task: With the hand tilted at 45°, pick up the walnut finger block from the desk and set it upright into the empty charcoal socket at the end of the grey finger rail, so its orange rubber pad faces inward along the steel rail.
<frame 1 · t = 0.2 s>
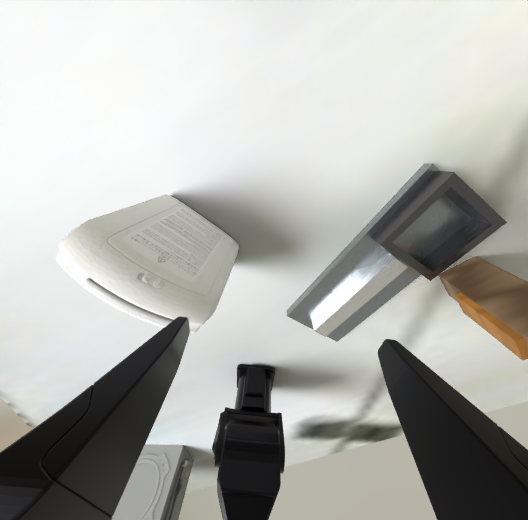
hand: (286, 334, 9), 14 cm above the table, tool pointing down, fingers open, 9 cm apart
finger rail: (419, 224, 21), on the table
walnut finger: (461, 276, 23), on the table
photo printer: (199, 230, 22), on the table
portable television: (153, 452, 54), on the table
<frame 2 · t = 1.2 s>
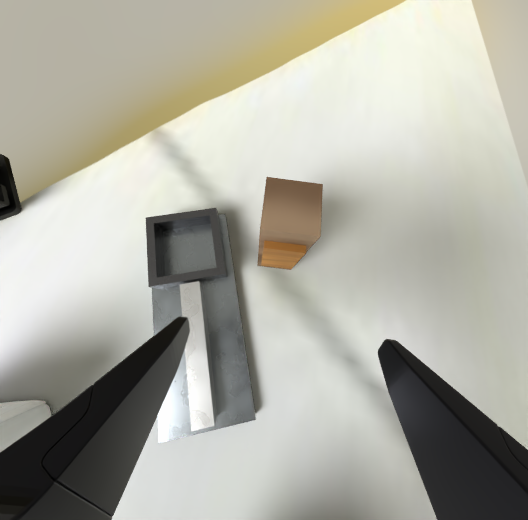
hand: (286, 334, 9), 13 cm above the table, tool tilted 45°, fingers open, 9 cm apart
finger rail: (193, 252, 23), on the table
walnut finger: (275, 251, 24), on the table
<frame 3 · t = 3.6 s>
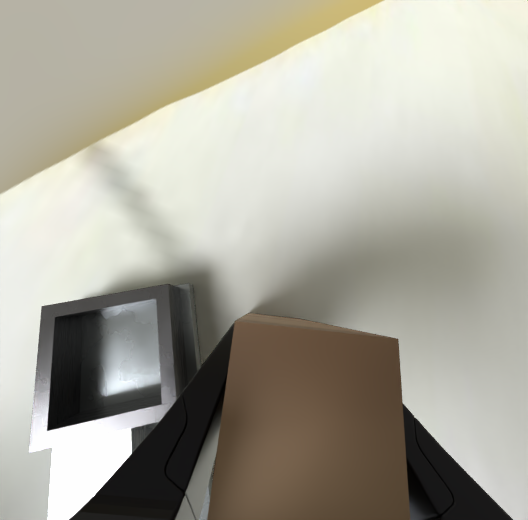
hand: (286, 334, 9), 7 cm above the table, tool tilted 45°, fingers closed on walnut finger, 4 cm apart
finger rail: (136, 348, 14), on the table
walnut finger: (271, 342, 15), on the table, touching gripper
when the fingers open (9 cm above the table, at t = 6.7 s): walnut finger drops 1 cm, resting on finger rail.
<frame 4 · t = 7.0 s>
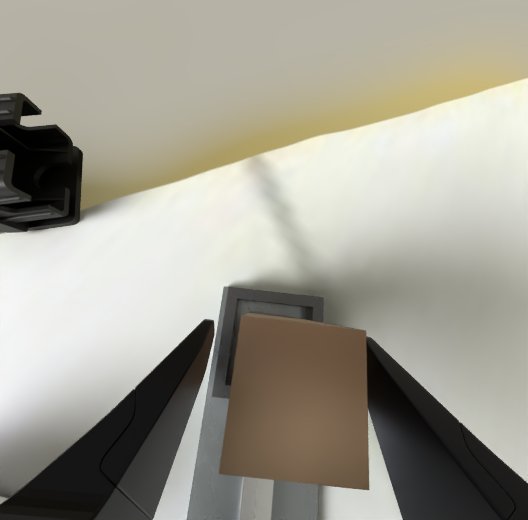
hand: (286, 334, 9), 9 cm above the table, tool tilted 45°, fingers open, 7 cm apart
finger rail: (268, 337, 17), on the table
end cap: (47, 191, 20), on the table
walnut finger: (269, 339, 16), point 1 cm above the table, touching finger rail
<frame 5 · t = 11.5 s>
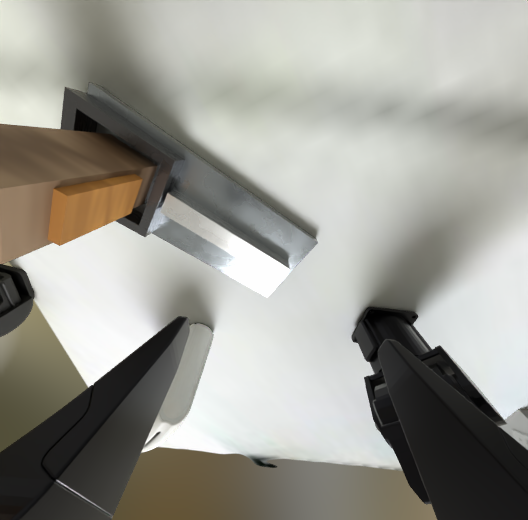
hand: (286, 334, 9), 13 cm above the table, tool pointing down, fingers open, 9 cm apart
finger rail: (135, 171, 18), on the table
walnut finger: (128, 171, 17), point 1 cm above the table, touching finger rail
photo printer: (190, 340, 30), on the table
portable television: (515, 432, 41), on the table
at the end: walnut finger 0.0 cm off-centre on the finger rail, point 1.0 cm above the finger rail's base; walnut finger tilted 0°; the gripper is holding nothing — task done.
